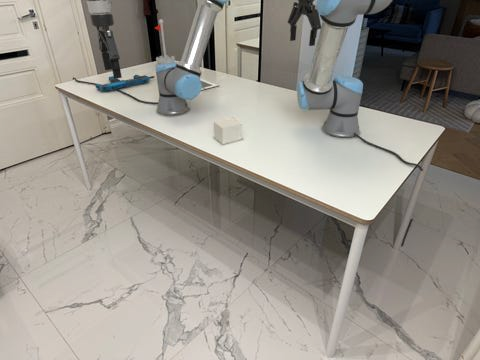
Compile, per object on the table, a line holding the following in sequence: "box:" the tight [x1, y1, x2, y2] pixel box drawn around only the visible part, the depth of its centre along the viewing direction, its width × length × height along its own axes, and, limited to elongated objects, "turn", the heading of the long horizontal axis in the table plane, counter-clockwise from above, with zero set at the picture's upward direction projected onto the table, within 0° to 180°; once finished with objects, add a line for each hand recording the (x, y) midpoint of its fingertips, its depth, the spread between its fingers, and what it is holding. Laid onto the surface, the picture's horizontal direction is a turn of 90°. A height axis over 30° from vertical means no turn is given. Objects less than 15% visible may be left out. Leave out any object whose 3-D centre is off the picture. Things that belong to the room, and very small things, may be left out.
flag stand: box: [154, 18, 176, 65], centre depth 234 cm, size 13×13×30 cm
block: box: [213, 116, 243, 145], centre depth 142 cm, size 8×9×7 cm
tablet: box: [200, 77, 219, 91], centre depth 207 cm, size 32×20×1 cm, turn 41°
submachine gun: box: [95, 74, 155, 92], centre depth 206 cm, size 34×4×25 cm
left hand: (113, 73), depth 132 cm, fingers open, 13 cm apart
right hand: (302, 43), depth 157 cm, fingers open, 13 cm apart
